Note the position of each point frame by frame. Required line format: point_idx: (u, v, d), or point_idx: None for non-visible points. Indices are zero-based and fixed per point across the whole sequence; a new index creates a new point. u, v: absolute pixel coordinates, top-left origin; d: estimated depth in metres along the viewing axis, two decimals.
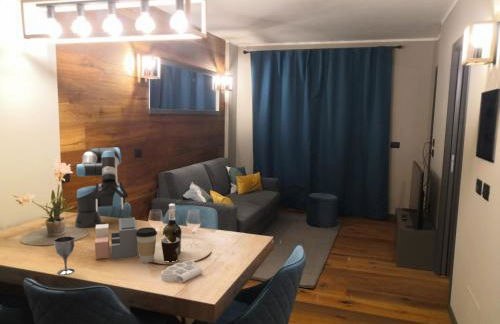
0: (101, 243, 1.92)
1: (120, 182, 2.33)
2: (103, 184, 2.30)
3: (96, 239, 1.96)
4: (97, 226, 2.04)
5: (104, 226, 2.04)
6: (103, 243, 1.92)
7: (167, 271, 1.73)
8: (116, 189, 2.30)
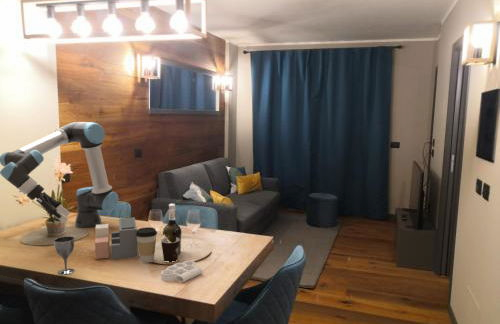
0: (101, 243, 1.92)
1: None
2: None
3: (96, 239, 1.96)
4: (97, 226, 2.04)
5: (104, 226, 2.04)
6: (103, 243, 1.92)
7: (167, 271, 1.73)
8: None
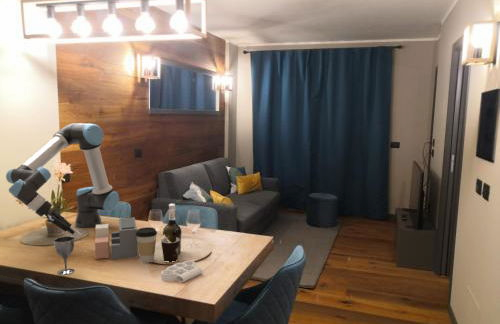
0: (101, 243, 1.92)
1: None
2: None
3: (96, 239, 1.96)
4: (97, 226, 2.04)
5: (104, 226, 2.04)
6: (103, 243, 1.92)
7: (167, 271, 1.73)
8: None
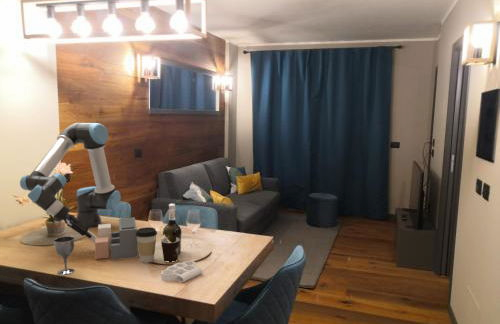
0: (101, 243, 1.92)
1: (67, 225, 1.93)
2: None
3: (96, 239, 1.96)
4: (100, 226, 2.04)
5: (106, 226, 2.04)
6: (103, 243, 1.92)
7: (167, 271, 1.73)
8: None
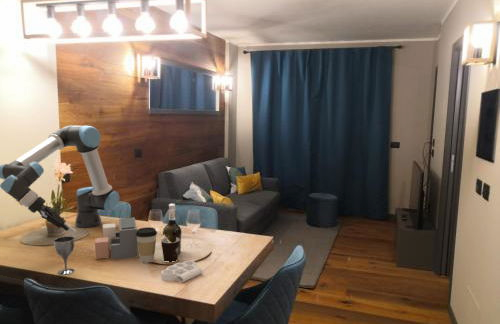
0: (101, 243, 1.92)
1: None
2: None
3: (96, 239, 1.96)
4: (104, 225, 2.05)
5: (111, 225, 2.05)
6: (103, 243, 1.92)
7: (167, 271, 1.73)
8: None
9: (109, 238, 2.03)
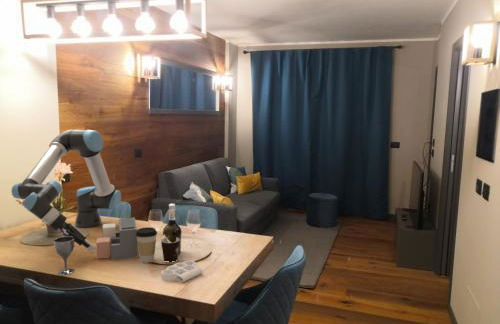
0: (102, 243, 1.92)
1: (63, 234, 1.84)
2: None
3: (97, 239, 1.96)
4: (104, 225, 2.05)
5: (111, 225, 2.05)
6: (104, 243, 1.93)
7: (167, 271, 1.73)
8: None
9: None
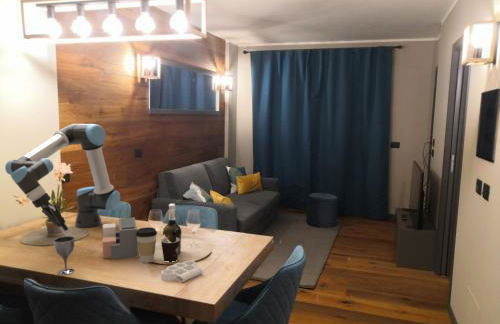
0: (109, 242, 1.93)
1: (50, 210, 1.86)
2: (42, 208, 1.91)
3: (104, 238, 1.97)
4: (104, 225, 2.05)
5: (111, 225, 2.05)
6: (111, 242, 1.93)
7: (167, 271, 1.73)
8: (51, 215, 1.90)
9: None
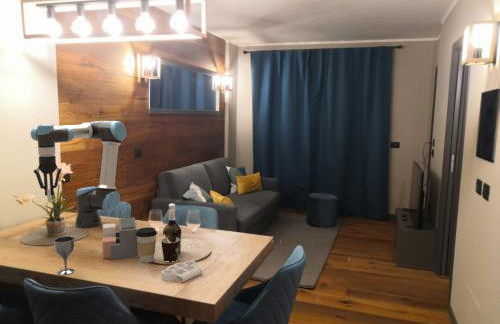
0: (109, 242, 1.93)
1: (60, 170, 2.03)
2: (40, 167, 2.00)
3: (104, 238, 1.97)
4: (104, 225, 2.05)
5: (111, 225, 2.05)
6: (111, 242, 1.93)
7: (167, 271, 1.73)
8: (50, 176, 2.02)
9: None
